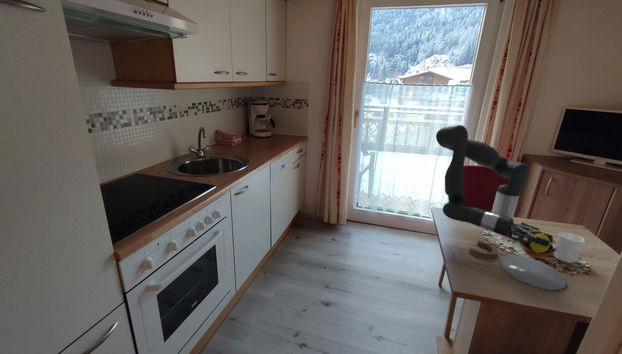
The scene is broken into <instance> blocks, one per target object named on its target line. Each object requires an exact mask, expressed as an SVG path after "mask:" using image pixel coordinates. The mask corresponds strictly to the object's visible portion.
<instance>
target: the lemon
mask: <svg viewBox="0 0 622 354" xmlns="http://www.w3.org/2000/svg"><path fill="white" fill-rule="evenodd" d="M544 233H545V232H543V233H541V234H540V233H539V234H535V235H534V236H536V238H537V237H539V238H542V239H545V240H548V241H550V240H549V238H548V237H547V236H546V235H545V234H544ZM550 245H551V241H550V243H549V245H548V247H546V246H543V245H540V244H537V243H535V242H534V243H531V244H529V247H530V248H531V250H533V251H534V252H535V254H539V253H540V254H541V253H546V252H547V251H548V250H549V248H550Z"/></svg>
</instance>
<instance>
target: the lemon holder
mask: <svg viewBox="0 0 622 354" xmlns="http://www.w3.org/2000/svg"><path fill="white" fill-rule="evenodd" d="M476 245H477V247H478V246H479V247H481V248H484V249H487V250H488V251H480V249H476V248H473V247H470V248H469V251H468V253H469V254H471V255H473V256H475V257H478V258H480V259H491V260H493V259H494V258H495V257H496V256H497V255H498V249H497V248H496V247H495V246H494V245H493V244H491V243H489V242H486V241H484V240H482V239H478V241H477V244H476Z"/></svg>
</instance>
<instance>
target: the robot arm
mask: <svg viewBox="0 0 622 354" xmlns="http://www.w3.org/2000/svg"><path fill="white" fill-rule="evenodd" d="M435 140H436V142H437V143H438V145H439V146H440V147H442V148H444V149H446V150H450V151H452V158H451V161H450V163H449V165H448V167H447V169H446V172H445V175H444V192H445V195H446V196H447V198H448V202H447V203H446V202H445V204H443V207H442V213H443V214H444V216H445V217H447V218H448V219H451V220H454V221H459V222H463V223H468V224H471V225H474V226H477V227H479V228H482V229H484V230H486V231H489V232H490V233H491V232H492V233H494V234H497V235H500V236H503V237H508V236H509V235H511V236H510V238H511V240H515V241H518V242H522V243H526V244H528V245H530V244H531V243H534V242H535V243H537V244H540V245H543V246H546V247H548V245H549V243H550V244H551V242H552V240H553V235H552V234H549V233H545V232H543V231H541V230H540V228H539V227H536V226H533V225H530V224H528V223H525V222H521V223H514V221H515V220H514V216H515V212H516V208H517V206H518V201H519V198H520V195H521V193H522V191H523V189H524V186H525V184H526V181H527V179H528V176H529V170H530V169H529V165H527V164H526V163H524V162H520V161H517V160H514V159H508V158H505V157H503V156H501V155H500V154H499V152H498V151H497V149H495V148H494V147H493V146H491V145H488V144H487V143H486V142H482V141H479V140H474V139H469V135H468V130H467V128H466V126H464V125H462V124H457V125H450V126H445V127H442V128H440V129H439V130H437V132H436V134H435ZM466 158H467V159H468V160H470V161H472V162H474V163H476V164H478V165H480V166H482V167H484V168H488V169H490V170H492V171H493V172H495V173H496V174H497V175H499V176H500V177H501V178H504V179H507V180H508V182H507V183H508V184H501V185H498V187H497V190H496V193H495V198H494V202H493V206H492V209H491V211H489V210H485V209H481V208H478V207H468V206H466V201H465V196H464V192H463V191H464V165H465V160H466ZM539 233H540V234H541V233H544V234H545V235H546V236H547V237H548V238H549V240H550V241H548V240H545V239H542V238H539V237H537V238H536V236H534V235H535V234H539Z"/></svg>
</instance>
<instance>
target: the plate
mask: <svg viewBox="0 0 622 354" xmlns="http://www.w3.org/2000/svg"><path fill="white" fill-rule="evenodd" d="M499 265H500V268H501V269H502V270H503V271H504V272H505V273H506V274H507V275H509V276H510V277H512V278H513V279H515V280H517V281H518V282H521V283H523V284H524V285H528V286H531V287H534V288H537V289H541V290H546V291H560V290H563V289H565V288H566V286H567V280H566V278H565V276H564V275H563V274H562V273H561V272H560V271H558V270H557V269H555V268H554V267H552V266H551V265H548V264H546V263H544V262H542V261H540V260H536V259H534V258H531V257H527V256H522V255H517V254H515V255H513V254H511V255H510V254H508V255H504V256H501V258H500V260H499Z"/></svg>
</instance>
